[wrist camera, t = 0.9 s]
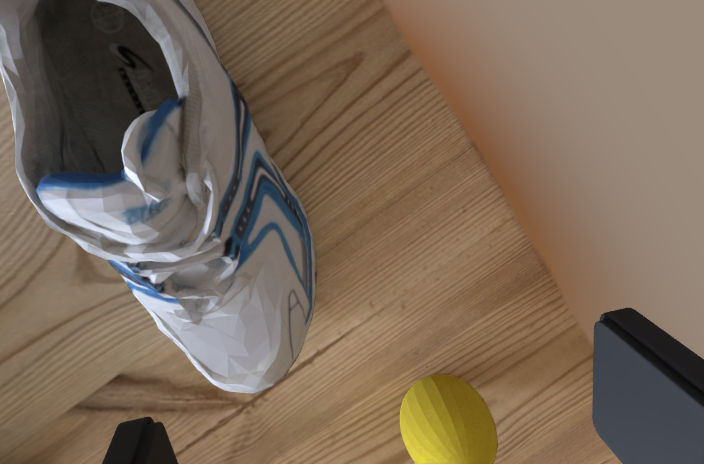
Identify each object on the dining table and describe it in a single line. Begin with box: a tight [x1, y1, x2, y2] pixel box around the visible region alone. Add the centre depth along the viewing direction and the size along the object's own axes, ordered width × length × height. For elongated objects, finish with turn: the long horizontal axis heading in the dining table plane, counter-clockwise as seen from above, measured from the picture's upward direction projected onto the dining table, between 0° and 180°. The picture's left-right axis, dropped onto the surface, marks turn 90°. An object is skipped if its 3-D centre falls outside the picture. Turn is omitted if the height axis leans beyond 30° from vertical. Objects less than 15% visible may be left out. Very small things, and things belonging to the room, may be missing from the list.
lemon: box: [400, 374, 498, 464], centre depth 31 cm, size 6×6×8 cm
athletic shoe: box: [0, 0, 317, 394], centre depth 23 cm, size 10×23×12 cm, turn 26°
